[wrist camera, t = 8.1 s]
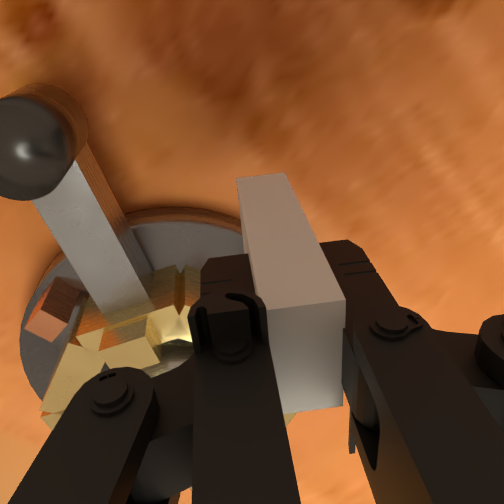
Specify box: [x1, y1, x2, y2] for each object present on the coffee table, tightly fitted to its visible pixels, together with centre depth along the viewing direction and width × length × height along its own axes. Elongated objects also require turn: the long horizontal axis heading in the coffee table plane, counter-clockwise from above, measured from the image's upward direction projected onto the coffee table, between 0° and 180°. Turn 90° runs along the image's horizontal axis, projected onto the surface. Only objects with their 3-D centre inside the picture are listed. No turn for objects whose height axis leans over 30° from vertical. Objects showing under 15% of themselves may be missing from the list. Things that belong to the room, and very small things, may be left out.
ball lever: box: [0, 84, 297, 491], centre depth 18 cm, size 19×11×4 cm, turn 17°
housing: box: [19, 207, 244, 401], centre depth 21 cm, size 15×15×8 cm
